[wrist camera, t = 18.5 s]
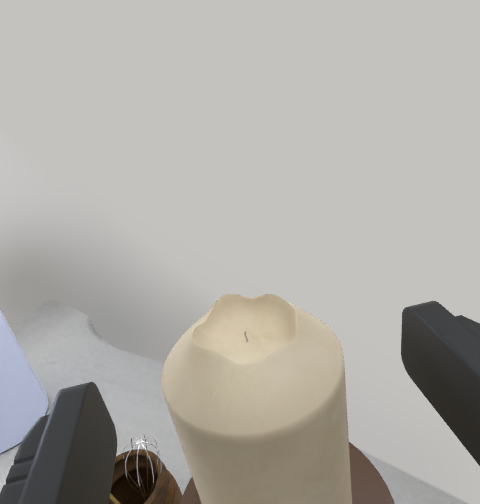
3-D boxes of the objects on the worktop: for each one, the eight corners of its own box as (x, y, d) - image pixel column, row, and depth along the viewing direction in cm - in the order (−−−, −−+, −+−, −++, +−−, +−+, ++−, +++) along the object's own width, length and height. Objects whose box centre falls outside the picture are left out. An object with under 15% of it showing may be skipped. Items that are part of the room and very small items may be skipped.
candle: (243, 639, 12) (166, 431, 8) (200, 486, 17) (137, 302, 13) (385, 557, 14) (386, 339, 9) (308, 436, 18) (285, 254, 14)
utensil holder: (189, 584, 26) (139, 473, 20) (99, 594, 26) (27, 487, 21) (197, 495, 31) (158, 388, 26) (121, 504, 31) (68, 400, 26)
